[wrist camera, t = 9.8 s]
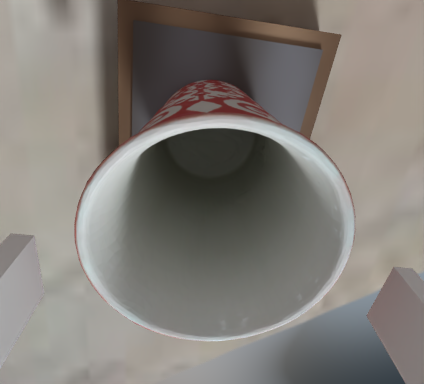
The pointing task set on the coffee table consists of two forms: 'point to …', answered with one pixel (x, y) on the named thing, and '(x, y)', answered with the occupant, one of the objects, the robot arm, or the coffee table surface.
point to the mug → (214, 220)
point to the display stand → (218, 62)
